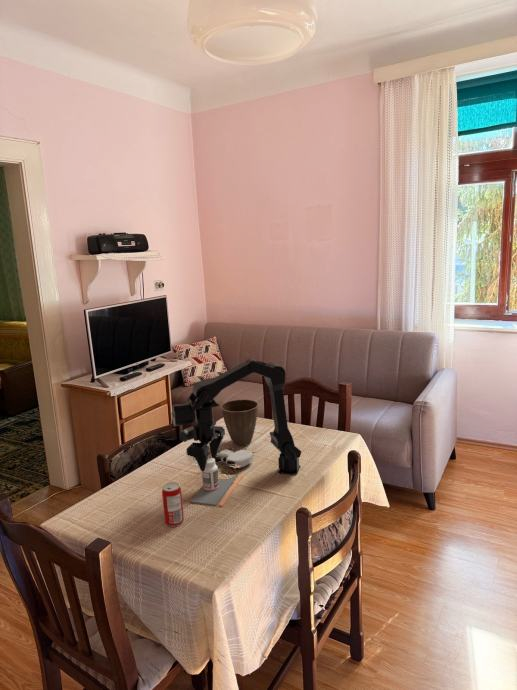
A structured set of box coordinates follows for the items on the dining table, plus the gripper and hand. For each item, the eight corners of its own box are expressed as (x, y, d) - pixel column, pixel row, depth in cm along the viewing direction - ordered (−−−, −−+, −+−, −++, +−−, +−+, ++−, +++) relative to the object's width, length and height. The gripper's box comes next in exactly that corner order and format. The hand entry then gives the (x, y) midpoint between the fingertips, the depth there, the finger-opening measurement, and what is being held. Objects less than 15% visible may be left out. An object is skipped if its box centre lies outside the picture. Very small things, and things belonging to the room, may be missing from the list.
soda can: (173, 515, 150) (169, 479, 148) (187, 519, 147) (184, 483, 145) (161, 524, 146) (157, 487, 143) (175, 529, 143) (172, 491, 140)
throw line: (243, 476, 172) (243, 475, 172) (222, 506, 153) (222, 505, 153) (239, 476, 172) (239, 474, 172) (219, 506, 154) (218, 504, 154)
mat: (237, 476, 173) (237, 474, 173) (216, 506, 154) (216, 504, 154) (213, 473, 175) (213, 472, 175) (190, 502, 157) (190, 501, 157)
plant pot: (216, 445, 199) (213, 408, 195) (237, 432, 211) (234, 397, 208) (247, 452, 191) (244, 413, 188) (266, 438, 203) (264, 402, 200)
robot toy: (207, 467, 182) (239, 474, 173) (206, 456, 182) (237, 462, 173) (228, 455, 192) (259, 461, 183) (227, 444, 191) (258, 449, 182)
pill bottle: (215, 481, 169) (213, 455, 166) (221, 488, 164) (219, 461, 162) (200, 485, 166) (198, 458, 164) (206, 492, 162) (204, 465, 159)
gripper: (194, 409, 171) (197, 450, 174) (169, 429, 154) (173, 475, 157) (224, 411, 168) (226, 453, 171) (202, 432, 150) (205, 478, 154)
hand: (208, 464), depth 163 cm, fingers open, 9 cm apart
